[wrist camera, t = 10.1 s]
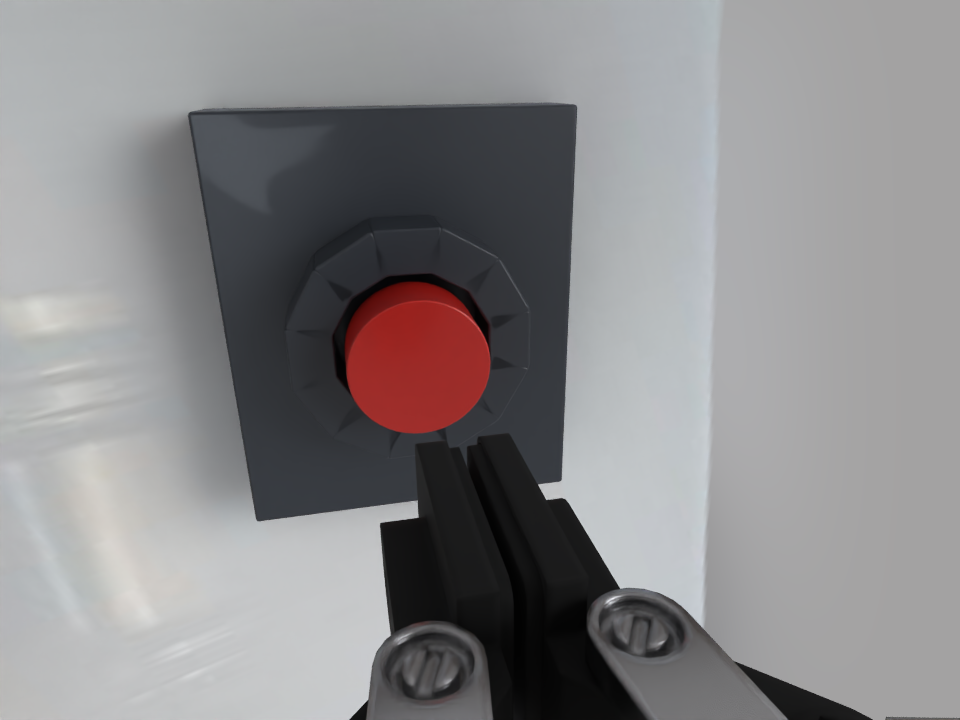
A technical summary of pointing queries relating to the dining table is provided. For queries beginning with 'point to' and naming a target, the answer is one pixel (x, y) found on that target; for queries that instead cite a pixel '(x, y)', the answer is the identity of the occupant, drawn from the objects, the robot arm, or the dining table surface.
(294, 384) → the button box
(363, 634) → the dining table surface
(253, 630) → the dining table surface
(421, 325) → the button
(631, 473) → the dining table surface
